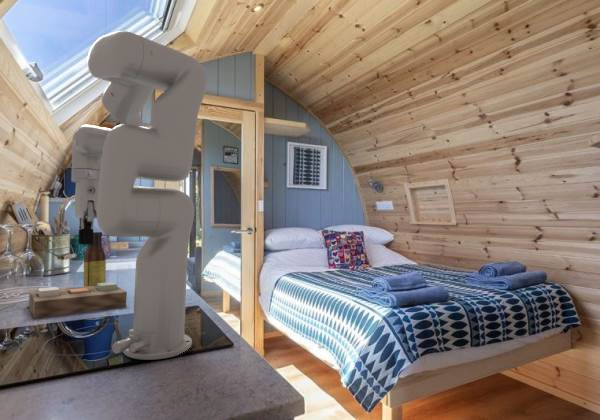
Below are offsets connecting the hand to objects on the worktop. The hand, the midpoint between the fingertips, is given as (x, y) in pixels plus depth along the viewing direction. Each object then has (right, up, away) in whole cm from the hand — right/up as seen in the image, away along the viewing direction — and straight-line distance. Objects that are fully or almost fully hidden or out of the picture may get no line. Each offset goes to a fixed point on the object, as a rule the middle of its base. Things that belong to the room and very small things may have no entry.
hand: (85, 243), depth 98 cm
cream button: (-8, -15, -3) cm, 17 cm away
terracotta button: (-3, -16, +2) cm, 16 cm away
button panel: (-3, -18, +2) cm, 18 cm away
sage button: (+2, -15, +6) cm, 17 cm away
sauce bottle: (-8, -18, +18) cm, 27 cm away
